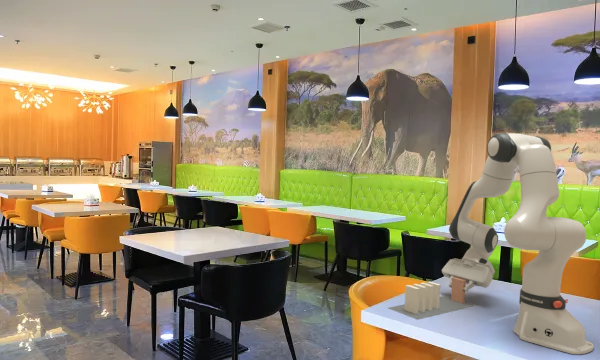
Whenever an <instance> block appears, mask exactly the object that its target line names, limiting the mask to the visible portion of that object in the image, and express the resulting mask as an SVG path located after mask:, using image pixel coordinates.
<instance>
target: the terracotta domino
mask: <svg viewBox="0 0 600 360" xmlns="http://www.w3.org/2000/svg"><path fill="white" fill-rule="evenodd" d="M466 285H467V283H466V280H463V279H459V278H456V277H454V278H452V288H451V294H450V297H451V300H453V301H456V302H460V303H464V301H465V299H466V298H465V296H466V292H464V291H463V290H462V289H463V287H464V286H466Z"/></svg>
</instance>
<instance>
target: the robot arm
mask: <svg viewBox="0 0 600 360" xmlns="http://www.w3.org/2000/svg"><path fill="white" fill-rule="evenodd" d="M486 145H487V146H486V150H487V154H488V155H487V158H486V161H485V163H484V166H483V169H482V172H481V176H480V177H479V178H478V180H477V181H473V182H471V183H470V185H469V186H468V188H467V190H466V192H465V194H464V196H463V198H462V200H461V202H460V204H459V207H458V209H457V212H456V213H455V216H454V217H453V219H452V221H451V222H450V224H449V226H448V231H449V234H450V236H451V237H452V238H453V240H457V241H461V242H464V243H467V244H469V245H470V247H469V248H468V249H467V250H466V252H465V253H464V255H463V257H462V258H460V259H459V258H455V257H454V258H452V259H451V258H450V259H449V260H448V261H447V262H446V264H445V265H444V266H443V267H442V269H441V273H442V274H443V276H444V278H448V279H449V283H448V287H449V288H451V289H452V278H454V277H456V278H459V279H463V280H466V285H465V286H464V287H463V289H462V290H463V291H464V292H465V293H468V291H469V290H470V289H472V288H474V287H475V286H477V287H482V288H488V287H489V286H490V285H491V283H492V281H493V279H494V274H495V272H496V271H495V268H494V266H493V264H492V262H490V260H489V258H490V257H491V256H492V255H493V253H494V251H495V249H496V247H497V246H498V243H499V235H498V233H497V230H496V229H495V228H494V227H492V226H490V225H488V224H484V223H481V222H479V221H475V220H473V219H471V218H470V217H469V214H470V213H471V211H472V208H473V206H474V204H475V202H476V200H478V199H486V198H496V197H500V196H503V195H505V194H507V192H508V191H510V190H509V189H510V188H511V186H512V182H513V178H514V176H515V171H516V168H517V167H518V168H519V181H520V204H519V207H518V210H517V211H516V212H515V214H514V215H513V216H512V217H511V218H509V220H508V221H506V223H505V226H504V231H503V233H504V238H505V240H506V242H507V243H508V245H510V246H511V247H514V248H516V249H521V250H526V251H538V253H537V255H536V256H535V258H534V259H532V260H530V261H528V262H527V263H525V265H524V266H523V269H522V284H521V288H520V290H519V291H520V292H519V310H518V316H517V319H516V322H515V325H514V328H513V332H514V334H516V335H518V337H519V339H520V340H522V341H525V342H529V343H532V344H536V345H540V346H542V347H546V348H549V349H553V350H557V351H560V352H564V353H567V354H571V355H585V354H588V353H590V352H592V351H593V350H594V344H593V342H591V341H589V340H587V339H586V331H585V327H584V324H582V323H581V322H580V321H579V320H578V319H577V318H576V317H575V316H573V314H572V313H571V312H570V311H569V310H567V309H566V305H567V303H569V299H564V298H563V297H562V295H561V288H562V287H561V286H562V277H563V273H564V270H565V268H566V265H567V263H568V261H569V259H570V258H571V257H572V255H573V254H575V252H576V251H578V250H580V249H581V248H582V247H583V246H584V245H585V243H586V242H587V241H586V240H587V230H586V227H584V224H582V222H580V221H578V220H575V219H571V218H568V217H561V216H559V217H558V216H556V217H555V216H547V211H548V207H550V206H551V205H553V204H555V202H557V201H558V199H559V197H560V189H559V183H558V174H557V169H556V164H555V159H554V157H553V153H552V145H551V143H550V141H549V140H548V139H546V138H544V137H542V136H538V135H536V136H534V135H529V134H523V133H513V132H512V133H510V132H509V133H507V132H499V133H494V134H493V135H492V136H491V137H490V138H489V140H488V142H487V144H486ZM468 283H469V284H468ZM474 285H475V286H474Z"/></svg>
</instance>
